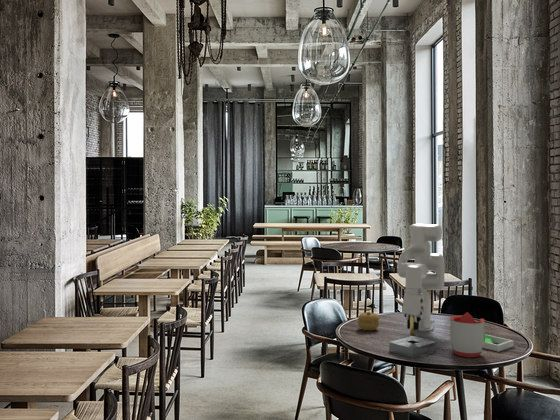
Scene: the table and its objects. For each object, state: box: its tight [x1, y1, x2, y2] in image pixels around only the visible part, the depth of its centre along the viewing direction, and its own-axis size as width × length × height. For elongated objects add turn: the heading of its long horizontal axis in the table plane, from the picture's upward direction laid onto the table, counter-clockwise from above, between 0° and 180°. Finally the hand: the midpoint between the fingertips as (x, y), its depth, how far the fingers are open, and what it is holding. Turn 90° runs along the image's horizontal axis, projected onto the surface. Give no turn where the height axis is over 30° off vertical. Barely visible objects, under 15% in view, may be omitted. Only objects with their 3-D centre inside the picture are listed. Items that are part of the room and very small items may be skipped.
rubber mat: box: [399, 334, 426, 339], centre depth 286 cm, size 10×10×1 cm
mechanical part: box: [484, 330, 494, 344], centre depth 279 cm, size 12×6×8 cm, turn 168°
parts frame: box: [482, 333, 514, 352], centre depth 277 cm, size 14×20×3 cm
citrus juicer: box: [449, 312, 486, 359], centre depth 261 cm, size 16×17×20 cm
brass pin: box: [409, 315, 417, 336], centre depth 265 cm, size 3×3×10 cm
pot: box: [357, 311, 380, 332], centre depth 306 cm, size 12×12×10 cm
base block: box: [388, 336, 437, 359], centre depth 265 cm, size 18×14×4 cm
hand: (412, 328), depth 265 cm, fingers closed on brass pin, 3 cm apart
